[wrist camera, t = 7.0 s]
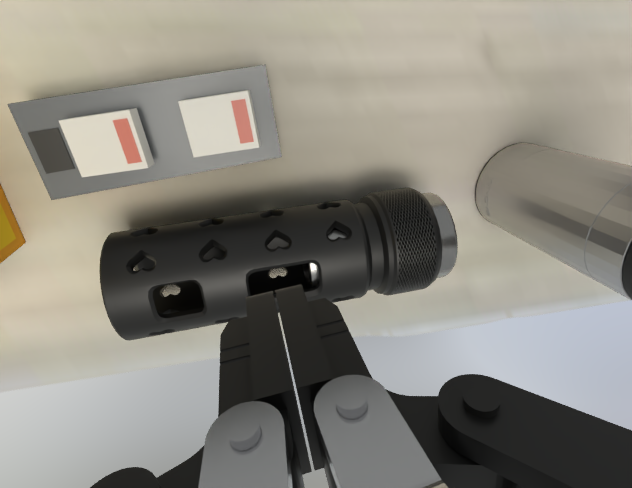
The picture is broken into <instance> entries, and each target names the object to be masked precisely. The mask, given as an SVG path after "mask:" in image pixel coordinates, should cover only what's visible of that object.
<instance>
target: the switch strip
mask: <svg viewBox="0 0 632 488" xmlns="http://www.w3.org/2000/svg"><path fill="white" fill-rule="evenodd" d="M245 90H250V94H251V99H252V104H253V109H254V114H255V119H256V124H257V129H258V134H259V139H260V144H261V145H260V147H259V148H253V149H247V150H240V151H233V152H227V153H220V154H214V155H207V156H200V157H193V153H192V150H191V146H190V143H189V139H188V135H187V132H186V128H185V125H184V121H183V117H182V114H181V110H180V107H179V103H178V101H181V100H186V99H193V98H199V97H206V96H212V95H219V94H225V93H232V92H238V91H245ZM8 107H9V109H10V111H11V113H12V115H13V117H14V120H15V122H16V124H17V126H18V128H19V130H20V133H21V135H22V137H23V139H24V141H25V143H26V146H27V148H28V150H29V152H30V154H31V156H32V159H33V161H34V163H35V165H36V167H37V169H38V172H39V174H40V176H41V178H42V180H43V182H44V185H45V187H46V189H47V191H48V193H49V195H50V198H51V200H55V199H60V198H66V197H71V196H76V195H82V194H87V193H92V192H98V191H103V190H108V189H114V188H119V187H124V186H130V185H135V184H140V183H146V182H151V181H157V180H162V179H167V178H173V177H178V176H183V175H189V174H194V173H199V172H205V171H210V170H215V169H221V168H226V167H231V166H237V165H242V164H248V163H253V162H258V161H264V160H269V159H274V158H280V157H282V155H281V149H280V144H279V138H278V133H277V127H276V122H275V116H274V110H273V105H272V99H271V94H270V88H269V82H268V77H267V71H266V66H265V65H259V66H253V67H246V68H240V69H233V70H227V71H220V72H214V73H207V74H200V75H194V76H187V77H181V78H174V79H168V80H161V81H155V82H148V83H142V84H135V85H129V86H122V87H116V88H109V89H102V90H96V91H89V92H83V93H76V94H70V95H63V96H57V97H50V98H44V99H37V100H31V101H24V102H17V103H11V104H8ZM133 108H137V111H138V114H139V117H140V120H141V123H142V126H143V129H144V132H145V135H146V139H147V142H148V145H149V148H150V151H151V154H152V157H153V160H154V163H155V164H154V165H152V166H151V167H149V168H145V169H138V170H131V171H124V172H117V173H110V174H103V175H96V176H89V177H82V176H81V174H80V172H79V169H78V167H77V164H76V162H75V159H74V157H73V155H72V152H71V150H70V147H69V145H68V143H67V140H66V138H65V135H64V133H63V130H62V128H61V126H60V123H59V120H64V119H68V118H74V117H81V116H87V115H94V114H101V113H107V112H114V111H120V110H127V109H133Z"/></svg>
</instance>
